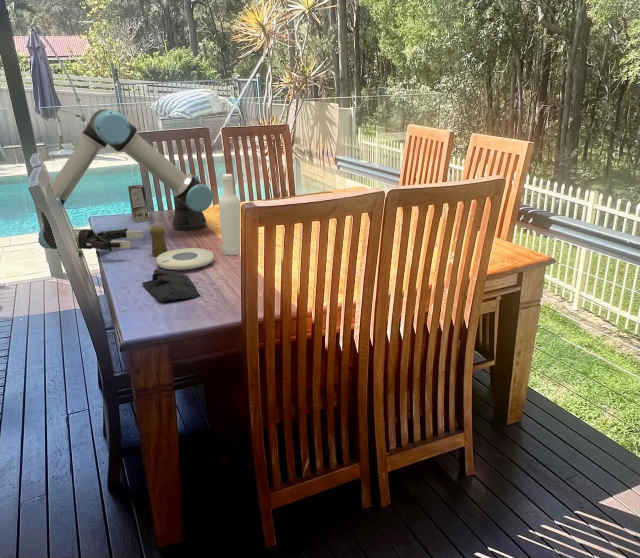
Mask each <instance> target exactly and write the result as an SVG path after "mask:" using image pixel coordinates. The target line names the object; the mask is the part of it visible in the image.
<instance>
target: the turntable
mask: <svg viewBox="0 0 640 558" xmlns="http://www.w3.org/2000/svg"><path fill="white" fill-rule="evenodd" d="M214 257H215V256H214V253H213V251H211V250H209V249H205V248H197V247H190V248H189V247H187V248H177V249H171V250H167V252H165V253H162V254H160V255H159V256H157V257H155V259H156V265H157V266H158V267H160V268H162V269H164V270H166V269H167V270H170V269H173V270H172V271H175V270H183V269H192V268H197V269H199V268H198V267H200V268H202V267H205V266H207V265H210V263H212V262H213V261H214V259H215V258H214ZM201 266H202V267H201Z"/></svg>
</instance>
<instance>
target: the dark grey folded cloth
mask: <svg viewBox="0 0 640 558" xmlns="http://www.w3.org/2000/svg"><path fill="white" fill-rule="evenodd" d="M151 278H152V279H150V280H147V281H143V282H141V284H142V285H143V286H144V288H145V289H146V290H147V291H148V292H149V293H151V295H153V296H154V297H155V298H156V299H158V300H159V301H161V302H162V303H165V302H170V301H177V300H178V299H183V300H190V299H189V298H194V299H196V298H195V297H198V296H200V295H201V293H200V292H199V291H198V292H197V290H198V288H197V287H196V285H195V284H194V282H192V280H191V278H190V277H189V276H188V275H187V274H181V273H177V272H175V271H174V270H170V269H167V270H166V269H154V270H153V274H152V277H151ZM199 293H200V294H199ZM198 298H199V297H198Z"/></svg>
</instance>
